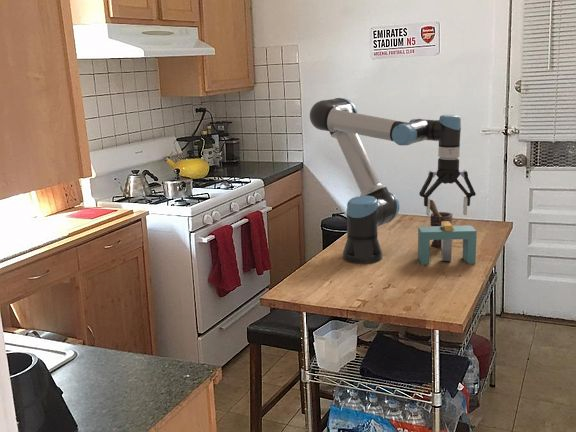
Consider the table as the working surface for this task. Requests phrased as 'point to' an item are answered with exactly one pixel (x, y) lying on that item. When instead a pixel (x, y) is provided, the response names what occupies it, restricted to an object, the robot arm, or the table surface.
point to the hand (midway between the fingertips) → (446, 214)
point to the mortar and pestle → (438, 220)
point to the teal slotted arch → (437, 234)
